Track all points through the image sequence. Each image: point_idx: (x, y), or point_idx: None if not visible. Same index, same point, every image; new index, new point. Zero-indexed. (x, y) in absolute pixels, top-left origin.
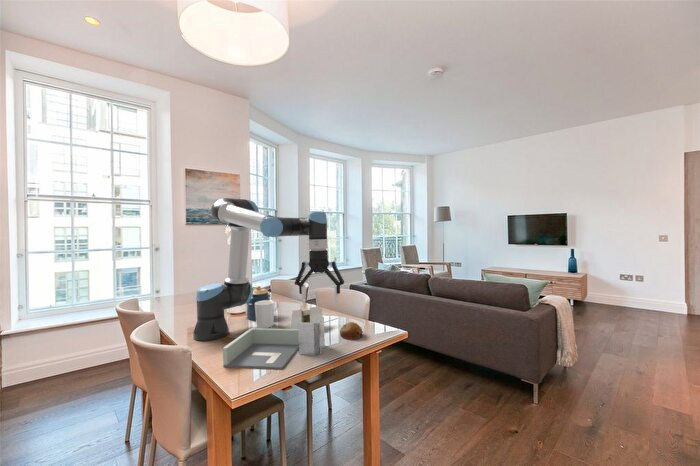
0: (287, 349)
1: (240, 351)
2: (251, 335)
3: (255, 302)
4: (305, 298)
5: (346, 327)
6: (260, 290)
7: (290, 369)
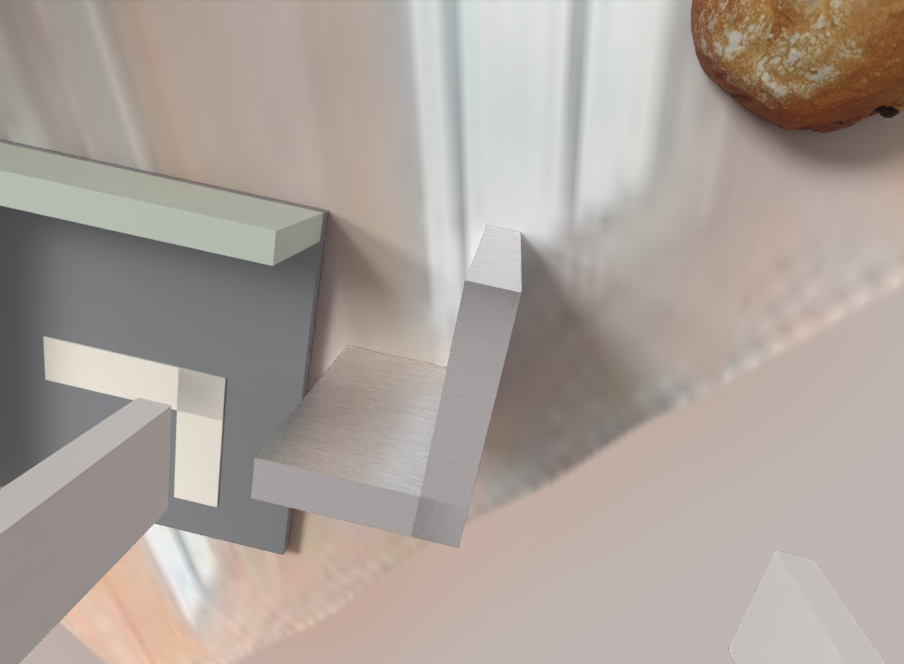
0: (248, 320)
1: None
2: None
3: None
4: (139, 434)
5: (791, 50)
6: None
7: (330, 552)
